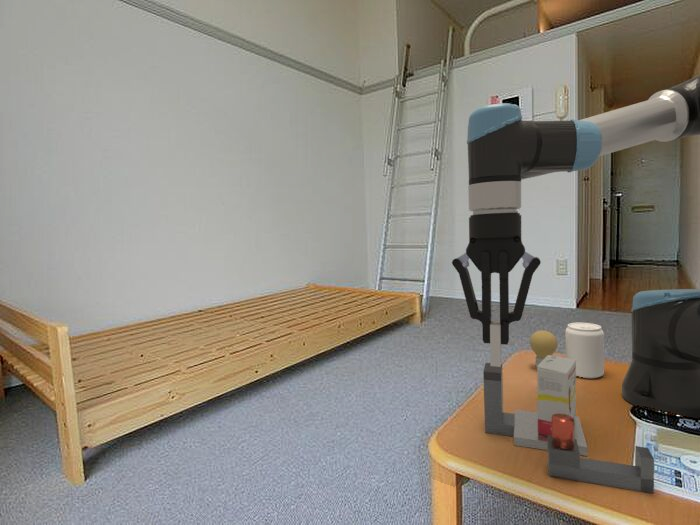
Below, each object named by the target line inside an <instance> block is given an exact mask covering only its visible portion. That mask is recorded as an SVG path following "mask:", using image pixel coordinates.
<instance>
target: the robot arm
mask: <svg viewBox="0 0 700 525" xmlns="http://www.w3.org/2000/svg"><path fill="white" fill-rule="evenodd" d="M467 124H468V125H467V136H466V137H467V139H466V144H467V158H468V159H467V161H468V162H467V164H468V187H467V188H468V193H467V194H468V211H470V212H472V214H471V215H470V216H469V217H468V244H467V246H466V249H465V253H463V254H461V255H460V256H459V257H455V258H454V259H452V262H451V264H452V266H453V268H454V269H455V270H456V272H457V273H458V276H459V280H460V283H461V286H462V290H463V295H464V298H465V301H466V306H467V309H468V313H469V317H470V318H471V319H472V320H477V321H479V322H480V323H481V324H482V325H481V326H482V342H483V343H484V344H489V347H490V348H489V349H490V351H489V352H490V354H489V356H490V357H489V358H490V359H489V360H490V362H489V363H490V366H496V367H501V364H502V345H508V344H509V342H510V341H509V340H510V324H511V323H514V322H519V321H521V319H522V317H523V312H524V309H525V306H526V302H527V298H528V294H529V290H530V286H531V282H532V279H533V275H534V274H535V272H536V270H538V268H539V266H540V265H541V263H542V262H541V260H540V258H539V257H537V256H534V255H532V254H530V253H529V252H527V251H526V248H525V246H524V244H523V242H522V214H521V213H520V212H518V210H520V209H521V208H522V180H526V179H531V178H535V177H540V176H543V175H544V176H545V175H548V174H549V175H550V174H553V173H559V172H566V173H573V172H578V171H579V172H581V171H586V170H589V169H590V168H591V167H593V165H594V164H595V163H596V162H597V161H598V159H599V157H601V156H605V155H608V154H609V155H610V154H612V153H615V152H619V151H622V150H624V149H625V150H626V149H628V148H632V147H635V146H639V145H643V144H646V143H649V142H652V141H657V142H661V143H666V142H671V141H674V140H678V139H682V138H688V137H694V136H700V74H699V75H695V76H694V77H691V78H690V79H687V80H686V81H683V82H682V83H679V84H677V85H676V84H675V85H674V86H671V87H669V88H666V89H663V90H659V91H657V92H654V93H653V94H652V95H651V96H650V97H649V98H648V99H647V100H644V101H641V102H638V103H634V104H630V105H627V106H623V107H620V108H616V109H613V110H610V111H605V112H603V113H600V114H599V113H598V114H596V115H593V116H589V117H586V118H582V119H578V120H576V119H570V120H542V121H541V120H538V121H537V120H533V121H529V120H523V116H522V111H521V108H520V106H519V105H517V104H512V103H509V102H508V103H507V102H504V103H502V102H501V103H493V104H487V105H485V106H481V107H478V108H477V109H475V110H473V111H472V112H471V114H470V115H469V117H468V123H467ZM521 259H522V260H523V261H522V267H523V268H524V270H523V274H522V277H521V280H520V281H521V282H520V284H519V285H520V286H519V289H518V292H517V297H516V300H515V305H514V308H513V311H510V306H509V305H510V304H509V303H510V301H509V298H510V297H509V296H510V294H509V288H510V287H509V283H510V282H509V276H510V275H509V273H510V272H511V271H513V269H514V268H515V266H516V265H517V264H518V263H519V261H520V260H521ZM469 260H470V261H471V262H472V263H473V264H474V265H475V267H476V269H477V270H478V271H479V272H480V274H481V277H480V279H481V310H480V309H479V305H478V301H477V298H476V294H475V291H474V285H473V283H472V282H473V281H472V279H471V275H470V271H469V269H468V267H470V262H469ZM494 273H496V274H498V275H499V278H498V280H499V320H492V274H494ZM630 311H631V362H630V365H629V366H628V369H627V371H626V374H625V376H624V378H623V380H622V384H621V395H622V398H623V399H624V400H625V401H626V402H628V403H630V404H631V405H632V406H636V407H637V405H639V406H646V407H650V408H655V409H658V410H663V411H668V412H672V413H676V414H680V415H684V416H688V417H693V418H692V419H696V418H697V419H698V418H700V289H697V288H696V289H695V288H693V289H691V288H686V289H685V288H682V289H681V288H677V289H676V288H673V289H672V288H671V289H652V290H651V289H650V290H642V291H639V292H636V293H635V294H634V295H633V297H632V308H631V310H630Z"/></svg>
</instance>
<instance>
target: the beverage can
mask: <svg viewBox="0 0 700 525" xmlns="http://www.w3.org/2000/svg"><path fill="white" fill-rule="evenodd" d="M604 336H605V332H604V331H603V329H602V326H601V325H599V324H596V323H592V322H570V323H568V324H567V327H566V329H565V358H569V359H575V360H576V377H577V376H579V377H578V378H581V377H583V378H582V379H597V378H600V377H603V375H605V371H604V370H605V352H604V351H605V349H604V348H605V346H604V345H605V343H604V342H605V337H604Z"/></svg>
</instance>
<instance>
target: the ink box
mask: <svg viewBox="0 0 700 525" xmlns="http://www.w3.org/2000/svg"><path fill="white" fill-rule="evenodd" d="M537 367H538V368H537ZM537 367H536V370H537V372H536V373H537V376H536V377H537V379H536V380H537V387H536V388H537V392H536V393H537V402H536V404H537V405H536V406H537V409H536V412H537V416H538V434H542V435H546V436H547V435H550V436H552V415H553V414H566V415H569V416H571V417H573V418H574V424H575V422H576V417H577V413H576V411H577V406H576V405H577V397H576V390H577V389H576V386H577V385H576V382H577V381H576V380H577V378H576V377H577V376H576V360H575V359H569V358H566V357H565V356H564V357H562V356H559V355H558V356H557V355H554V354H552V355H547V356H546V357H545V358H544V360H542V362H541V363H540V364H539V365H538V366H537Z"/></svg>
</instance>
